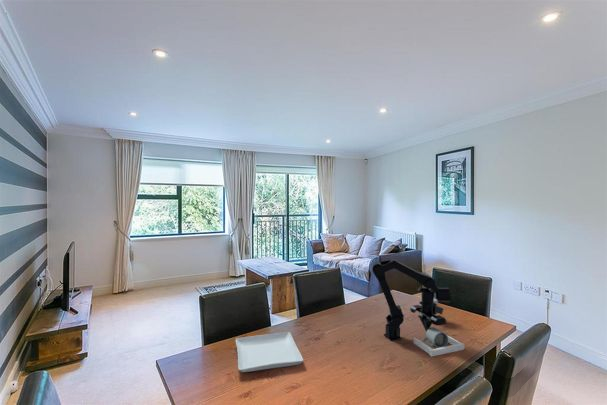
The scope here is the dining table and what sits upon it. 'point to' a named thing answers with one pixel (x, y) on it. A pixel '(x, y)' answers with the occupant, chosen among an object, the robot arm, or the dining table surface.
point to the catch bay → (443, 350)
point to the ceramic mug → (436, 338)
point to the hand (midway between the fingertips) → (427, 331)
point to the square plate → (267, 352)
